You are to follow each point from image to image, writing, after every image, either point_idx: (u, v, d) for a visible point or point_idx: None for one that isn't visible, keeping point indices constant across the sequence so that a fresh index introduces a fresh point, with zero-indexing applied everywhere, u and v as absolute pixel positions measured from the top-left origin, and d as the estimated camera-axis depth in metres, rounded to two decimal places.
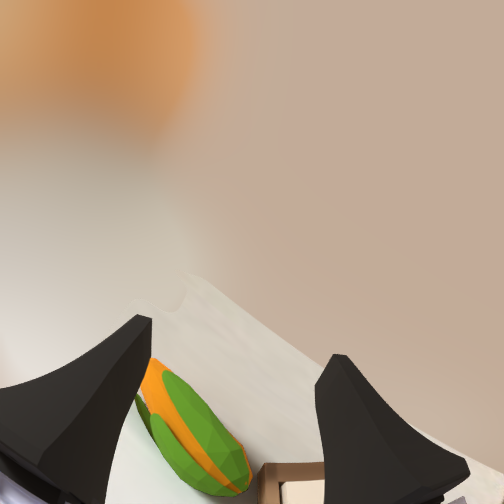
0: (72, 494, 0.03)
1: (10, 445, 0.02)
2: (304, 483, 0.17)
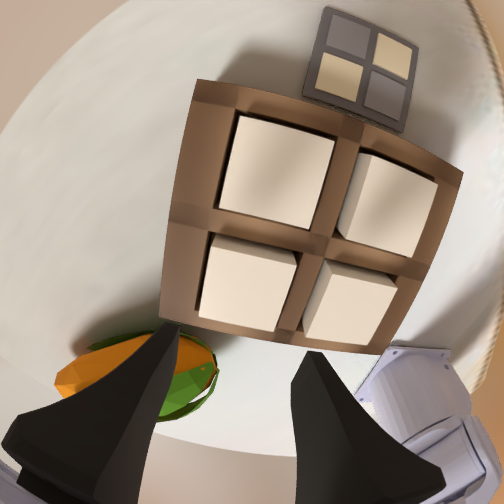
0: None
1: (58, 475, 0.02)
2: (207, 293, 0.15)
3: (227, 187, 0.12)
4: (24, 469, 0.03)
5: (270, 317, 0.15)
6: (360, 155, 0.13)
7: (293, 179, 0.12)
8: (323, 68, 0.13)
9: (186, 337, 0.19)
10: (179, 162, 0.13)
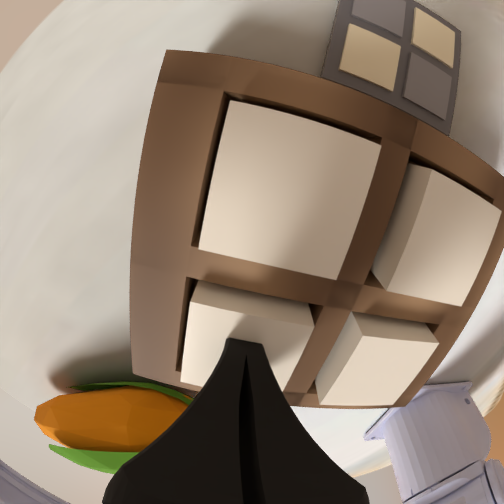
0: None
1: None
2: (190, 358, 0.10)
3: (210, 217, 0.08)
4: None
5: None
6: (407, 166, 0.09)
7: (316, 205, 0.08)
8: (350, 44, 0.09)
9: (176, 397, 0.15)
10: (140, 176, 0.08)
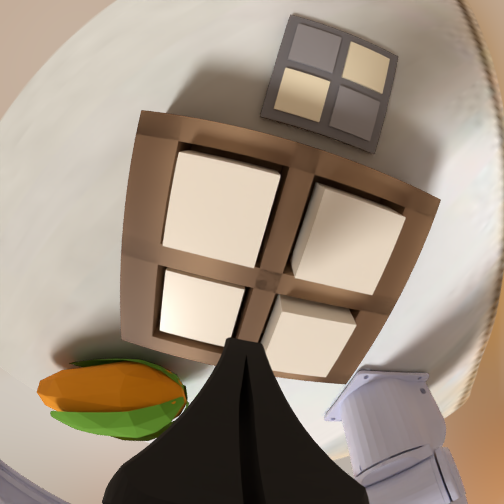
0: None
1: None
2: (165, 311, 0.16)
3: (169, 226, 0.12)
4: None
5: (223, 334, 0.16)
6: (316, 185, 0.13)
7: (235, 218, 0.12)
8: (285, 86, 0.13)
9: (160, 371, 0.19)
10: (127, 197, 0.13)
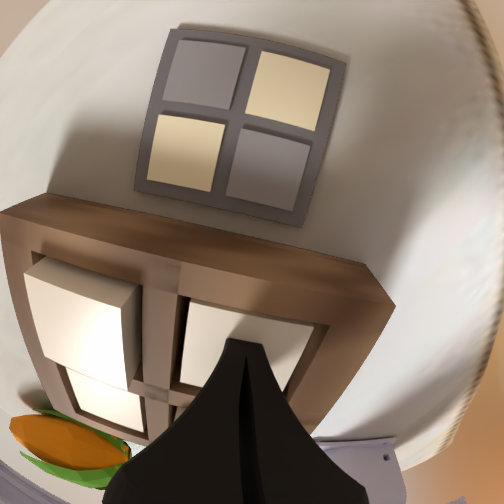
0: None
1: None
2: (78, 396, 0.12)
3: (42, 341, 0.09)
4: None
5: (135, 423, 0.13)
6: None
7: (91, 346, 0.08)
8: (161, 142, 0.10)
9: (105, 436, 0.16)
10: (13, 300, 0.09)
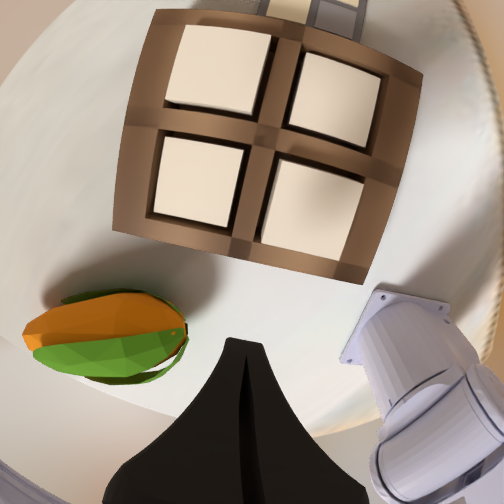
0: None
1: None
2: (161, 184, 0.15)
3: (173, 80, 0.11)
4: None
5: (222, 208, 0.15)
6: (302, 62, 0.13)
7: (233, 67, 0.11)
8: (274, 1, 0.12)
9: (161, 300, 0.19)
10: (136, 72, 0.12)
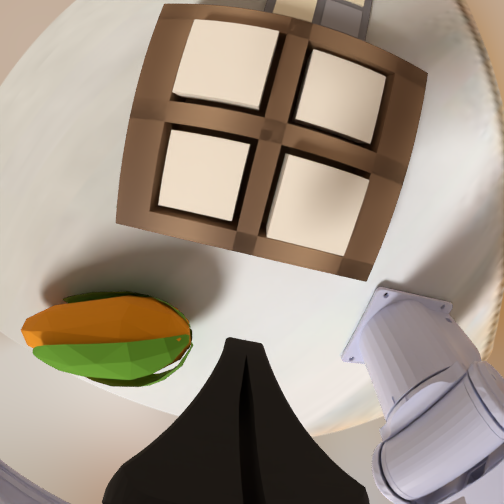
0: None
1: None
2: (167, 177, 0.15)
3: (180, 74, 0.11)
4: None
5: (227, 202, 0.15)
6: (308, 58, 0.13)
7: (240, 62, 0.11)
8: None
9: (167, 306, 0.19)
10: (143, 65, 0.12)
